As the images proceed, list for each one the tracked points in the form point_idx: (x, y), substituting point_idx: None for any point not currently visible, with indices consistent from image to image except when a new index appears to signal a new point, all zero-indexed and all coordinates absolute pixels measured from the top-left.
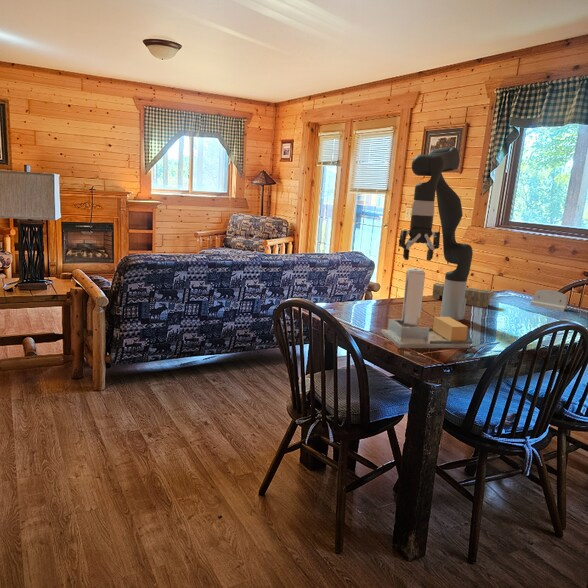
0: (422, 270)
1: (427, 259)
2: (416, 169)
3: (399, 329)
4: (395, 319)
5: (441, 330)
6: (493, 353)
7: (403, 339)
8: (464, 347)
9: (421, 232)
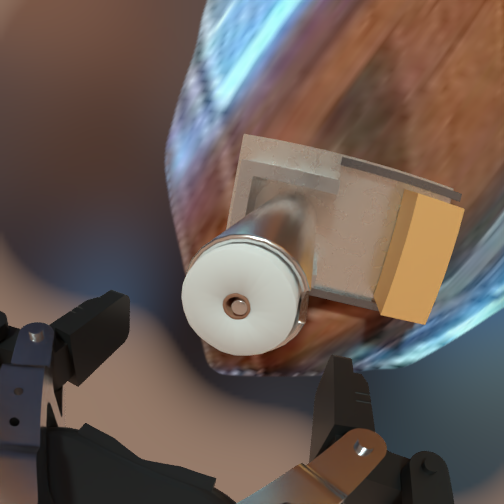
0: (267, 343)
1: (326, 370)
2: None
3: None
4: (260, 170)
5: (394, 244)
6: (425, 354)
7: None
8: None
9: None
